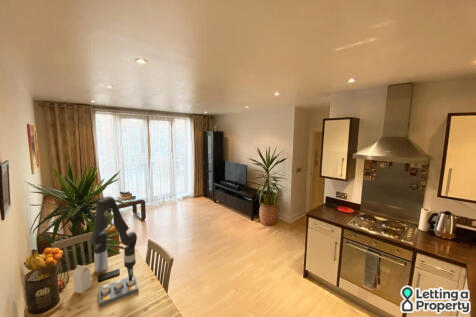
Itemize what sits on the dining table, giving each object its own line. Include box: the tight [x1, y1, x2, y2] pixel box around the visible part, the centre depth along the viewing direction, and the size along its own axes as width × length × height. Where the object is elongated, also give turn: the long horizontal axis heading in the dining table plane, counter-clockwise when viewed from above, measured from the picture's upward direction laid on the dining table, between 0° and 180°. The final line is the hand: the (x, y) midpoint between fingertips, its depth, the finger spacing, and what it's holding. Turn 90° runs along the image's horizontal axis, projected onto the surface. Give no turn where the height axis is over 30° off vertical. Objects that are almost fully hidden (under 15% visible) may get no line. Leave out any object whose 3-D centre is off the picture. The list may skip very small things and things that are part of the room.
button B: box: [114, 279, 122, 290], centre depth 146 cm, size 5×5×4 cm
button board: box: [98, 274, 139, 308], centre depth 146 cm, size 17×24×3 cm
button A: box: [101, 283, 110, 295], centre depth 141 cm, size 5×5×4 cm
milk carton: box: [72, 264, 92, 294], centre depth 146 cm, size 7×7×19 cm
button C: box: [127, 278, 134, 287], centre depth 151 cm, size 5×5×4 cm
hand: (130, 280), depth 150 cm, fingers closed
